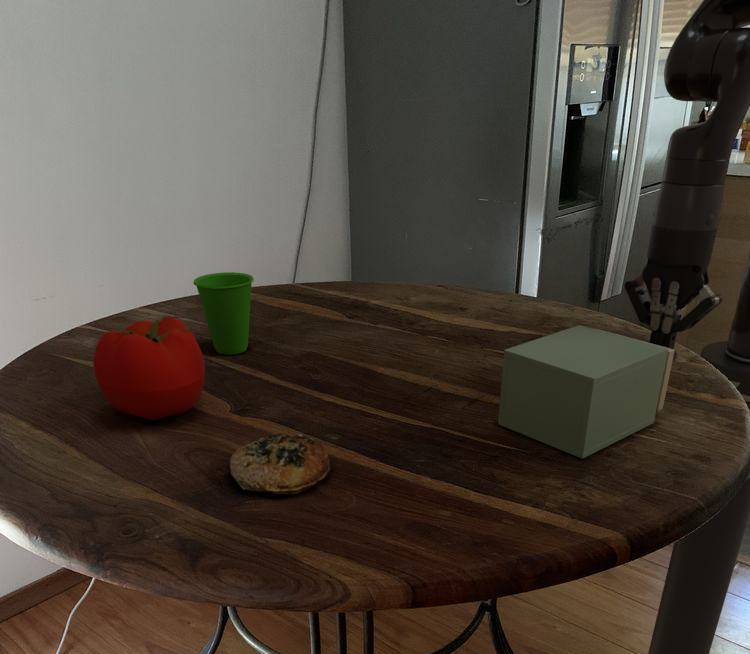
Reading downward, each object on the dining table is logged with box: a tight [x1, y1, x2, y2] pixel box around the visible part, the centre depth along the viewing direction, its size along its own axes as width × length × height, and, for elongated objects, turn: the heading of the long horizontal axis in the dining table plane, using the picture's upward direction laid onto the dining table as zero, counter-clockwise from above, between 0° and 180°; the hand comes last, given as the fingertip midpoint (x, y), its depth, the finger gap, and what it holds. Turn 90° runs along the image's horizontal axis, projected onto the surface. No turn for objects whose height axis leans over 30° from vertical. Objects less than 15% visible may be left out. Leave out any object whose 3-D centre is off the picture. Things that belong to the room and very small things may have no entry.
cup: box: [193, 271, 255, 355], centre depth 114 cm, size 9×9×11 cm
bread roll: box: [229, 433, 331, 496], centre depth 80 cm, size 11×11×5 cm
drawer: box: [595, 328, 678, 412], centre depth 92 cm, size 20×11×8 cm, turn 130°
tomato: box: [92, 316, 206, 422], centre depth 93 cm, size 13×14×12 cm
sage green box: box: [497, 324, 668, 459], centre depth 89 cm, size 15×13×10 cm
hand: (658, 357), depth 99 cm, fingers closed
